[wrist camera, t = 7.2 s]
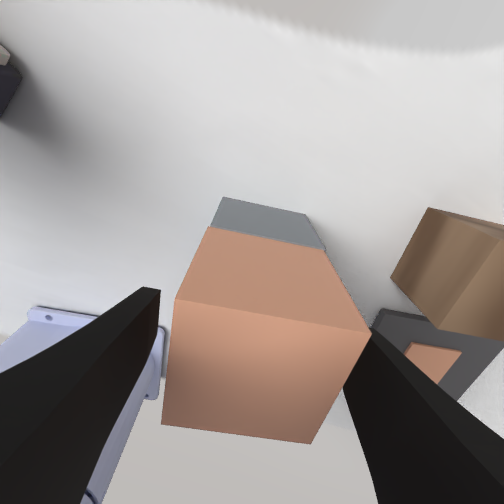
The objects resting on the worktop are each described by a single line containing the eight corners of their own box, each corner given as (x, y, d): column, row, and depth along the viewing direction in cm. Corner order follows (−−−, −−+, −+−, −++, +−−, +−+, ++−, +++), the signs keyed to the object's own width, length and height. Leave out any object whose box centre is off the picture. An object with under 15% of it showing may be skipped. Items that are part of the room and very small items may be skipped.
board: (341, 382, 22) (344, 391, 21) (381, 308, 18) (386, 315, 18) (447, 399, 23) (454, 408, 22) (505, 331, 19) (514, 339, 19)
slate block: (210, 268, 17) (195, 318, 13) (223, 196, 15) (210, 225, 11) (282, 282, 18) (293, 335, 13) (304, 213, 16) (326, 248, 11)
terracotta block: (193, 319, 13) (160, 424, 8) (208, 226, 11) (174, 298, 6) (290, 336, 13) (310, 444, 9) (323, 250, 11) (371, 333, 7)
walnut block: (389, 276, 17) (437, 328, 13) (427, 206, 15) (499, 240, 11) (455, 290, 18) (524, 345, 13) (501, 224, 16) (600, 263, 11)
